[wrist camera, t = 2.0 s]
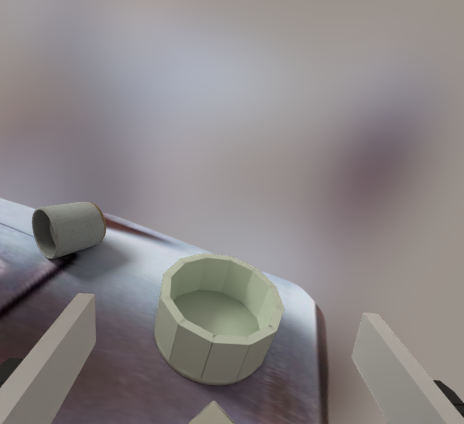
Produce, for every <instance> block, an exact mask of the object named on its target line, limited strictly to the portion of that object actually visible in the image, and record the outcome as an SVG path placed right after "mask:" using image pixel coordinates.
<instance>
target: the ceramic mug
mask: <svg viewBox="0 0 464 424" xmlns="http://www.w3.org/2000/svg"><path fill="white" fill-rule="evenodd" d="M32 227H33V233H34V237H35V240H36V243H37V245H38V248H39V249H40V251H41V252H42V254H43V255H44V256H45V257H46V258H48V259H55V258H58V257H61V256H64V255H67V254H70V253H73V252H76V251H79V250H82V249H85V248H89V247H92V246H94V245H96V244H98V243H100V242H101V241H102V240H103V238H104V236H105V233H106V223H105V218H104V216H103V214H102V212H101V210H100V209H99V208H98V207H97V206H96V205H95V204H94V203H90V202H76V203H70V204H61V205H53V206H45V207H39V208H37V209H36V210H35V211H34V213H33V217H32Z"/></svg>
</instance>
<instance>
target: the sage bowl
mask: <svg viewBox="0 0 464 424" xmlns="http://www.w3.org/2000/svg"><path fill="white" fill-rule="evenodd" d="M283 312H284V306H283V304H282V301H281V298H280V296H279V293H278V290H277V287H276V286H275V285H274V284H273V283H272V282H271V281H270V280H269V279H268V278H267V277H266V276H265V275H264V274H263V273H261V272H260V271H259V270H258V269H257V268H256V267H253V266H251V265H249V264H247V263H245V262H242V261H240V260H238V259H236V258H234V257H230V256H223V255H215V254H207V253H205V254H204V253H203V254H199V255H194V256H190V257H186V258H182V259H179V260H178V261H177V262H176V263H175V264H174V265H173V266H172V267H171V268H170V269H168V270H167V271H166V272H165V273H164V274H163V278H162V284H161V289H160V294H159V299H158V305H157V310H156V319H155V325H154V337H155V342H156V345H157V348H158V350H159V352H160V354H161V356H162V357H163V359H164V360H165V361H166V362H167V363H168V365H169V366H170V367H171V368H173V369H174V370H175V371H176V372H178V373H179V374H181V375H182V376H184V377H186V378H188V379H190V380H192V381H195V382H198V383H201V384H206V385H214V386H221V385H229V384H234V383H237V382H240V381H242V380H244V379H246V378H247V377H249V376H250V375H252V374H253V373H254V372H255V371H256V370H257V368H258V367H259V366H261V365H262V362H263V360H264V358H265V356H266V353H267V351H268V349H269V347H270V345H271V342H272V340H273V338H274V336H275V334H276V331H277V329H278V326H279V323H280V320H281V317H282V314H283Z"/></svg>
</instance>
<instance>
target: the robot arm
mask: <svg viewBox="0 0 464 424" xmlns="http://www.w3.org/2000/svg"><path fill="white" fill-rule="evenodd" d="M95 344H96V323H95V294H86V293H78V294H77V295H76V296H75V297H74V299H73V300H72V301H71V302H70V303H69V305H68V306H67V307H66V308H65V310H64V311H63V312H62V313H61V314H60V316H59V317H58V318H57V319H56V321H55V322H54V323H53V324H52V325H51V327H50V328H49V329H48V330H47V332H46V333H45V334H44V335H43V336H42V338H41V339H40V340H39V341H38V343H37V344H36V345H35V346H34V347H33V349H32V350H31V351H30V352H29V354H28V355H27V356H26V357H25V358H24V359H15V358H9V359H8V360H6V361H5V362H3V363H2V364H1V365H0V424H51V423H52V421H53V419H54V418H55V416H56V414H57V412H58V410H59V409H60V407H61V405H62V403H63V401H64V400H65V398H66V396H67V394H68V392H69V391H70V389H71V387H72V385H73V383H74V382H75V380H76V378H77V376H78V374H79V373H80V371H81V369H82V367H83V365H84V364H85V362H86V360H87V358H88V356H89V354H90V353H91V351H92V349H93V347H94V345H95ZM351 358H352V360H353V361H354V363H355V365H356V367H357V368H358V371H359V372H360V374H361V376H362V378H363V380H364V381H365V383H366V385H367V387H368V389H369V390H370V392H371V394H372V396H373V398H374V399H375V401H376V403H377V405H378V406H379V408H380V410H381V412H382V414H383V415H384V417H385V419H386V421H387V423H388V424H464V403H463V402H462V401H461V399H460V398H459V397H458V396H457V395H456V394H455V392H454V391H452V390H451V389H450V388H449V387H447V386H446V385H445V384H443V383H442V382H441V381H437V380H432V379H431V378H430V377H429V375H428V374H427V373H426V372H425V370H424V369H423V368H422V367H421V366H420V364H419V363H418V362H417V361H416V360H415V358H414V357H413V356H412V355H411V353H410V352H409V351H408V350H407V349H406V347H405V346H404V345H403V344H402V342H401V341H400V340H399V339H398V338H397V336H396V335H395V334H394V333H393V332H392V330H391V329H390V328H389V327H388V326H387V325H386V323H385V322H384V321H383V319H382V318H381V317H380V316H379V315H378V314H375V313H363V315H362V319H361V323H360V326H359V330H358V334H357V338H356V342H355V346H354V350H353V354H352V357H351Z"/></svg>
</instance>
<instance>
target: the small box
mask: <svg viewBox="0 0 464 424" xmlns="http://www.w3.org/2000/svg"><path fill="white" fill-rule="evenodd" d="M188 424H235V422H234V421H233V420H232V419H231V418H230V417H229V416H228V414H227V413H226V412H225V411H224V410H223V409H222V408H221V407H220V406H219V405H218V403H217V402H216V401H212V402H211V403H210V404H209V405H208V406H206V407H205V408H204V409H203V410H202V411H201V412H200V413H199V414H198V415H197V416H196V417H195V418H193V419H192V420H191V421H190V422H189V423H188Z"/></svg>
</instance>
